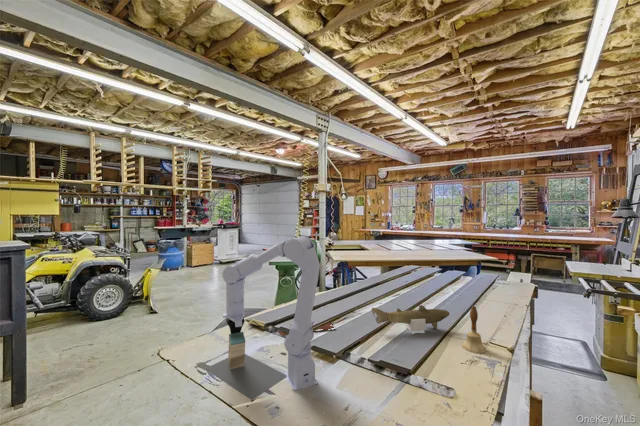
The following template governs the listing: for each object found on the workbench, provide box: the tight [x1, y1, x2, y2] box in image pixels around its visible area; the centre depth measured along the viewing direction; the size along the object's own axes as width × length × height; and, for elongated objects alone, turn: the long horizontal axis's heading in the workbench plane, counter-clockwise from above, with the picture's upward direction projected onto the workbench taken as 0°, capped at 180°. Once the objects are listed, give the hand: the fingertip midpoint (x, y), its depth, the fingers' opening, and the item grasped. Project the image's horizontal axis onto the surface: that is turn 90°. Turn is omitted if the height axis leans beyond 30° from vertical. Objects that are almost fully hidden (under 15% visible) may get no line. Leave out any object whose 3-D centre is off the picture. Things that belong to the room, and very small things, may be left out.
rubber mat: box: [204, 353, 287, 403], centre depth 92 cm, size 24×14×1 cm, turn 52°
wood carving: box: [371, 304, 450, 331], centre depth 123 cm, size 9×35×11 cm, turn 98°
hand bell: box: [461, 305, 487, 354], centre depth 109 cm, size 8×8×16 cm
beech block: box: [227, 331, 246, 369], centre depth 95 cm, size 4×4×10 cm
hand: (235, 339), depth 97 cm, fingers closed
